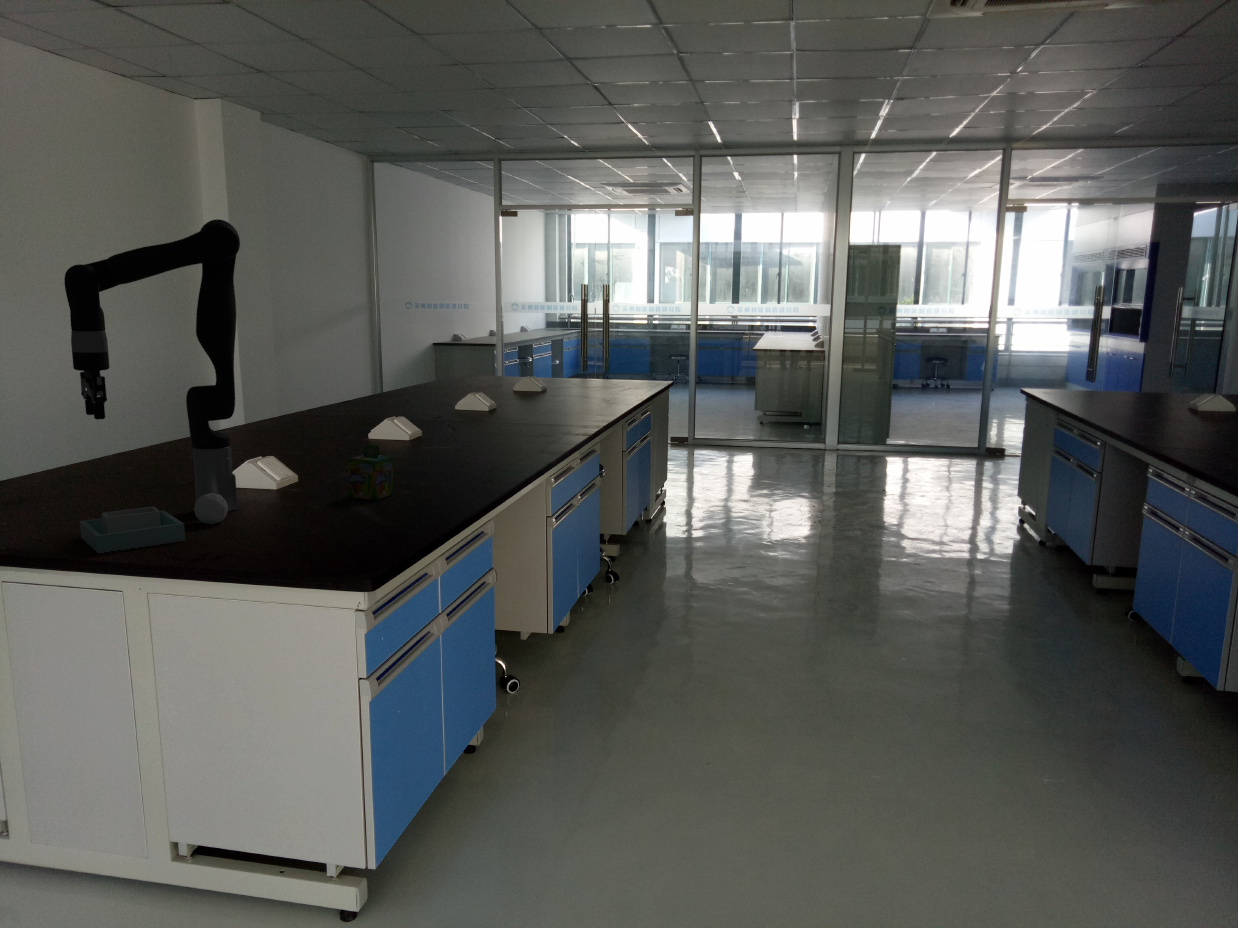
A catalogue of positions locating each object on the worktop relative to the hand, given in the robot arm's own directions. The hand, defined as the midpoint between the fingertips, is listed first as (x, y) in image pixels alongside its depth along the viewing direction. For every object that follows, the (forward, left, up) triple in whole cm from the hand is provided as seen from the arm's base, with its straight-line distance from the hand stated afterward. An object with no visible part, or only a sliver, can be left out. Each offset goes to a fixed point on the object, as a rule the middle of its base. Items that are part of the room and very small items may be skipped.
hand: (95, 416), depth 216 cm
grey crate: (-2, +19, -26) cm, 33 cm away
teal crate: (-2, +19, -27) cm, 33 cm away
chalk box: (-66, +11, -27) cm, 72 cm away
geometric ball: (-21, +15, -27) cm, 37 cm away
